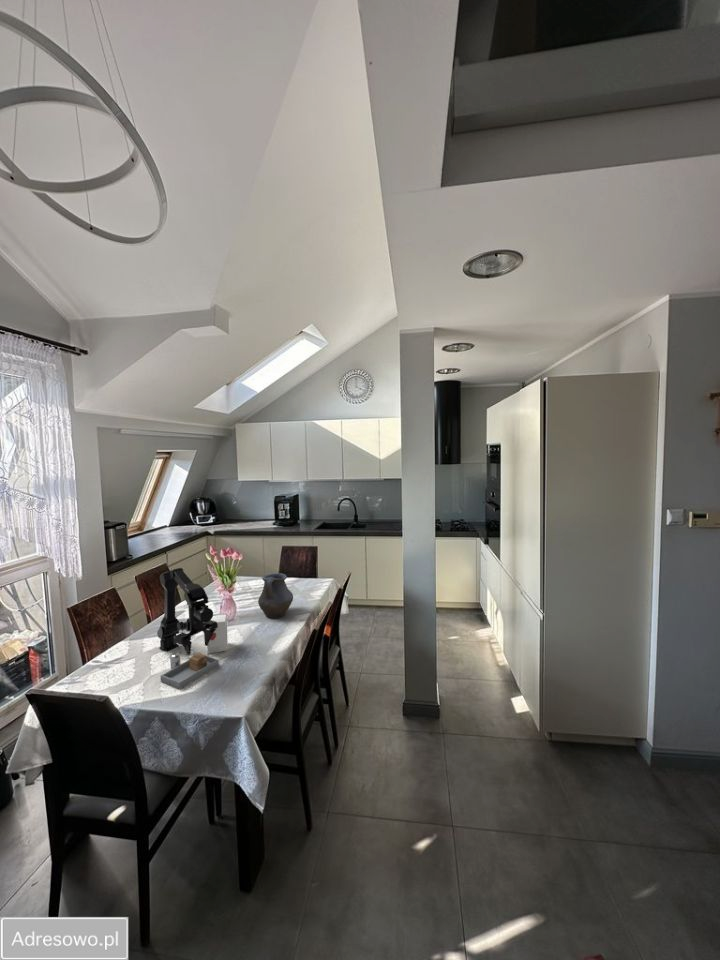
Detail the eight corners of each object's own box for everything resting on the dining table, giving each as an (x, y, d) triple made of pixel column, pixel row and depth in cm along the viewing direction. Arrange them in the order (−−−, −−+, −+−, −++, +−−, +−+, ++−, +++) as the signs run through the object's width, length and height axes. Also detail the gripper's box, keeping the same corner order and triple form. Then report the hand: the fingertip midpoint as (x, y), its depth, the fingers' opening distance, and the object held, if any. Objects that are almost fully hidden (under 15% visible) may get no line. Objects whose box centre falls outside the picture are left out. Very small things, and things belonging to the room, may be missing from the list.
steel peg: (176, 664, 176) (176, 651, 176) (182, 666, 175) (181, 653, 174) (168, 669, 173) (168, 655, 173) (174, 671, 171) (173, 658, 171)
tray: (200, 659, 181) (200, 653, 180) (218, 665, 175) (218, 659, 175) (160, 681, 163) (160, 675, 163) (179, 689, 157) (179, 682, 157)
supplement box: (206, 654, 185) (205, 623, 184) (208, 645, 194) (207, 616, 193) (227, 651, 188) (225, 621, 187) (228, 642, 196) (226, 613, 195)
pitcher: (297, 608, 238) (296, 568, 237) (287, 623, 217) (286, 580, 215) (265, 608, 240) (263, 568, 239) (252, 623, 219) (250, 579, 217)
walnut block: (199, 663, 176) (198, 652, 176) (206, 665, 174) (206, 655, 173) (189, 668, 171) (189, 657, 171) (197, 671, 169) (197, 660, 169)
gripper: (201, 605, 183) (202, 637, 184) (164, 620, 166) (166, 656, 167) (217, 609, 178) (219, 642, 179) (182, 625, 161) (184, 662, 162)
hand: (197, 650), depth 172 cm, fingers open, 9 cm apart
